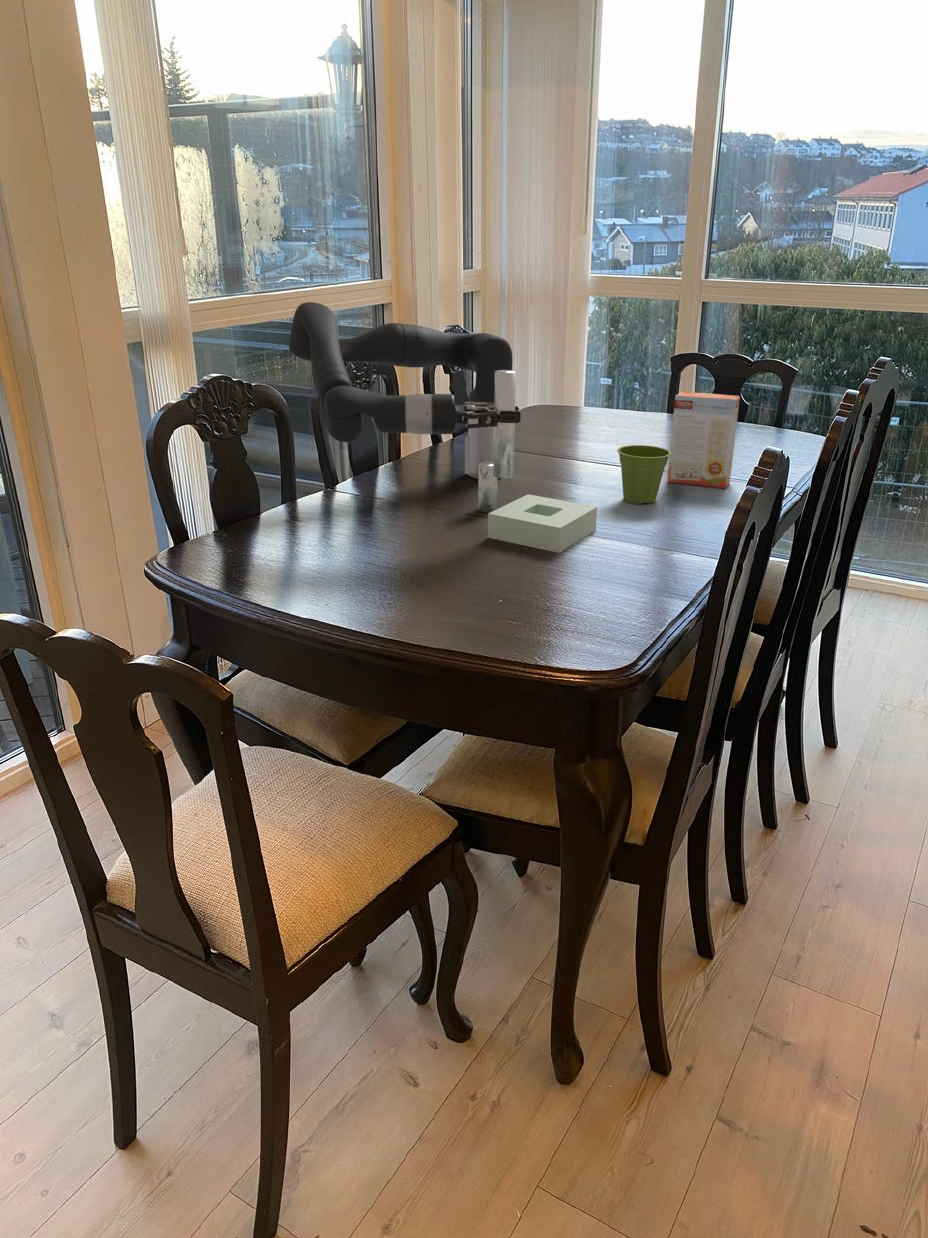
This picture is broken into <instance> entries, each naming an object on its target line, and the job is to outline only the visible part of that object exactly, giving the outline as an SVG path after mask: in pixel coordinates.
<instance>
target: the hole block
mask: <svg viewBox="0 0 928 1238" xmlns="http://www.w3.org/2000/svg"><path fill="white" fill-rule="evenodd" d="M597 517H598V506H595V505H589V504H584V503H578V502H572V501H566V500H562V499H557V498H549V497H546V496H540V495H539V496H538V495H536V494H535V495H534V494H526V495H524V496H522V497H520V498H518V499H516V500H515V499H514V501H512V502H511V501H510V502H509V503H507V504H505V505H503V506H501V507H499V508H497V510H495V511H492V512H487V538H488V539H493V540H496V539H497V541H502V542H507V543H511V544H515V545H519V546H520V545H522V546H525V547H530V548H535V549H537V550H538V549H539V550H544V551H549V552H552V553H553V552H554V553H557V554H558V553H559V554H560V553H561V552H563V551H564V550H567V549H568V548H570V547H572V546H573V545H574V544H576V543H578V542H579V541H581V540H583V539H585V538H586V537H588V536H589V535H591V534H592V533H594V532H596V531H597Z"/></svg>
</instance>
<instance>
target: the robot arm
mask: <svg viewBox="0 0 928 1238" xmlns="http://www.w3.org/2000/svg"><path fill="white" fill-rule="evenodd" d="M338 332H339V331H338V320H337V316H336V314H335V312H333V311H332V309H331V308H329V307H328V306H326V305H324V304H321V303H319V302H314V301H313V302H312V301H310V302H309V301H308V302H306V301H305V302H303V303H301V304H299V305H298V306H297V307H296V309H295V311H294V315H293V319H292V324H291V329H290V334H289V335H290V336H289V339H288V340H289V341H288V348H289V351H290V352H291V354H292V355H293V356H295V357H296V358H299V359H301V360H305V361H308V362H311V374H312V381H313V383H314V386H315V390H316V392H317V396H318V397H319V401H320V403H321V407H322V413H323V418H324V423H325V427H326V430H327V432H328V434H329V435H330V437H332V438H333V439H334V440H336V441H338V442H341V443H350V442H354V441H355V440H357V439H358V438H359V437H360V436H361V434H362V432H363V430H364V418H363V414H364V415H367V416H369V417H371V419H373V422H374V424H375V427H376V429H377V431H379V432H381V433H385V434H387V433H388V434H406V433H407V434H415V435H454V434H455V431H456V424H460V425H464V427H467V428H468V434H467V435H465V436H464V437H465V439H464V475H466V474H467V475H468V476H469V477H470V478H473V479H478V480H479V463H482V462H493V441H494V427H496V426H497V425H498V424H500V422H501V423H515V424H519V423H521V419H522V418H521V414H522V413H521V411H520V408H519V406H518V405H515V411H500V410H494V391H495V371H497V370H512V371H513V351H512V347H511V345H510V343H509V342H508V340H506V339H505V338H504V337H502V336H498V335H495V334H491V333H486V332H479V333H478V332H476V333H475V332H474V333H458V332H457V333H456V332H455V333H454V332H453V333H452V332H445V331H441V330H437V329H435V328H434V329H433V328H431V327H430V328H429V327H425V326H421V325H415V324H409V323H401V322H389V323H385V324H381V325H379V326H377V327H375V328H371V330H368V331H366V332H365V333H362V334H359V335H357V336H354V337H349V338H339V333H338ZM345 363H366V364H376V365H378V364H379V365H385V366H392V367H393V366H394V367H402V368H403V367H404V368H428V367H429V368H430V367H435V366H436V367H437V366H448V367H454V368H455V367H456V368H460V369H465V370H468V371H472V372H474V373H475V385H474V389H473V390H471V391H470V392H469V393H468V400H467V401H464V404H461V405H460V404H458V405H456V401H455V397H456V396H455V395H454V394H453V393H436V394H435V393H416V394H410V395H409V394H407V395H404V394H403V395H400V394H399V395H397V394H396V395H393V394H388V395H386V394H382V393H381V394H380V393H379V392H378V393H377V392H374V391H369V390H367V389H362V388H359V387H355V386H353V383H352V380H351V378H350V375H349V373H348V369H347V367H346V365H345Z"/></svg>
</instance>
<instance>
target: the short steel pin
mask: <svg viewBox="0 0 928 1238" xmlns="http://www.w3.org/2000/svg"><path fill="white" fill-rule="evenodd" d="M477 485H478V486H477V487H478V494H477V495H478V498H477V499H478V500H477V501H478V503H477V505H478V507H477V508H478V511H479V512H482V513H490V512H492V511H495V510H497V509H498V508H497V504H498V502H497V501H498V478H497V477H494V476H493V462H482V463H479V479H478V484H477Z"/></svg>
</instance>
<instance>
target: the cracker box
mask: <svg viewBox="0 0 928 1238" xmlns="http://www.w3.org/2000/svg"><path fill="white" fill-rule="evenodd" d="M740 399H741V396H740V395H733V394H732V395H731V394H730V395H729V394H719V393H705V392H691V391H690V392H689V391H688V392H687V391H680V392H679V393H678V394H675V397H674V404H673V405H674V407H673V417H672V427H671V439H670V446H669V447H670V449H669V451H671V453H672V454H671V455H670V456H669V457H668V469H667V470H668V471H667V482H668V483H673V484H674V483H675V484H682V485H692V486H701V487H710V488H718V489H726V488H727V487H728V485H729V484H730V483H731V474H732V467H733V459H734V458H733V457H734V452H735V451H734V450H735V441H736V434H737V433H736V432H737V425H738V419H739V418H738V417H739V407H740Z"/></svg>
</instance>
